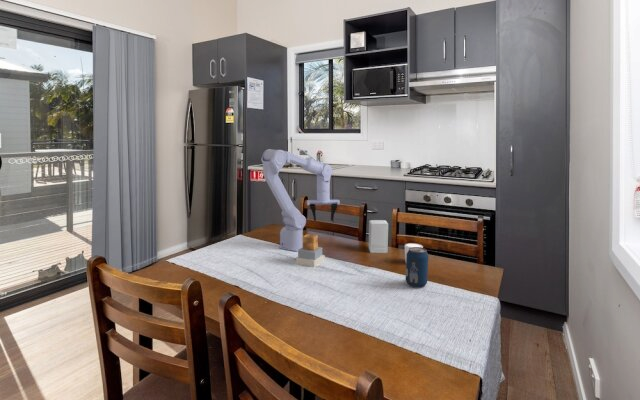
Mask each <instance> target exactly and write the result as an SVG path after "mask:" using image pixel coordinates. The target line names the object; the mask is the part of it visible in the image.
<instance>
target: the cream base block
mask: <svg viewBox="0 0 640 400" xmlns="http://www.w3.org/2000/svg"><path fill="white" fill-rule="evenodd" d="M295 260H296V261H295V264H296V265H301V266H306V267H311V268H316V267H317V266H319V265H321V264H323V263H324V262H325V260H326V257H325V254H322V255H321V256H320V257H319V258H317V259H316V260H311V259H304V258H298V256H296V257H295Z"/></svg>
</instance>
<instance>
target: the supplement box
mask: <svg viewBox="0 0 640 400" xmlns="http://www.w3.org/2000/svg"><path fill="white" fill-rule="evenodd" d="M388 239H389V223H388V221H387V220H384V219H371V220H369V221H368V246H367V247H368V251H369V253H370V254H388V247H389V246H388V244H389V243H388V242H389V240H388Z"/></svg>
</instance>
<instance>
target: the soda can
mask: <svg viewBox="0 0 640 400" xmlns="http://www.w3.org/2000/svg"><path fill="white" fill-rule="evenodd" d="M428 271H429V253H428V250H427V248H424V247H423V248H421V247H411V248H409V251H408V252H407V258H406V263H405V282H406V284H407V285H408V286H409V287H410V288H414V289H415V288H416V289H420V288H422V289H423V288H425V286H426V285H427V284H428V273H429V272H428Z"/></svg>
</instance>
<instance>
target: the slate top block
mask: <svg viewBox="0 0 640 400" xmlns="http://www.w3.org/2000/svg"><path fill="white" fill-rule="evenodd" d="M321 255H323V247H321V246H318V248H317V249H315V250H314V251H311V250H303V247H302V248H301V249H299V250H298V251H297V257H298V258H304V259H311V260H316V259H317V258H319V257H320V256H321Z"/></svg>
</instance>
